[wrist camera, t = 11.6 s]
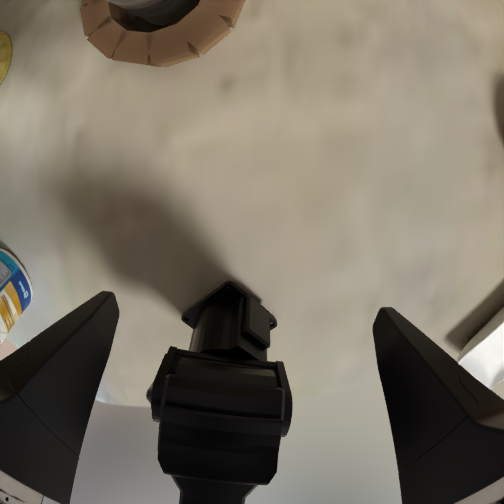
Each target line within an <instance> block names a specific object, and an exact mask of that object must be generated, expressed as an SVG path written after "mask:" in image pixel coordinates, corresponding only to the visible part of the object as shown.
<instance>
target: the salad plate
mask: <svg viewBox="0 0 504 504" xmlns="http://www.w3.org/2000/svg"><path fill="white" fill-rule="evenodd" d="M457 362H458V364H459V365H461V366H462V367H463V368H464V369H466V370H467V371H468V372H469V373H470V374H471V375H473V376H474V377H475V378H476V379H477V380H479V381H480V382H481V383H482V384H484V385H485V386H486V387H488V388H489V389H492V388H493V387H495V386H496V385H497V384H499V383H500V382H501V381H502V380H504V307H503V308H502V309H501V310H500V311H499V312H498V313H497V314H496V315H495V316H494V317H493V318H492V319H491V320H490V321H489V322H488V323H487V324H486V325H485V326H484V327H483V328H482V329H481V330H480V331H479V332H478V333H477V334H476V335H475V336H474V337H473V338H472V339H471V340H470V341H469V342H468V343H467V345H466V346H465V347H464V348H463V350H462V351H461V353H460V355H459V357H458V359H457Z"/></svg>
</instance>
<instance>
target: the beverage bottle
mask: <svg viewBox="0 0 504 504" xmlns="http://www.w3.org/2000/svg"><path fill="white" fill-rule="evenodd" d="M32 294H33V292H32V285H31V282H30V279H29V277H28V275H27V273H26V271H25V270H24V268H23V266H22V265H21V264H20V262H19V261H18V260H17V259H16V258H15V257H14V256H13V255H12V254H10V253H9V252H8V251H6V250H4V249H1V248H0V345H1V343H2V341H3V340H4V338H5V337H6V335H7V334H8V332H9V331H10V329H11V328H12V326H13V325H14V324H15V322H16V321H17V319H18V318H19V316H20V315H21V314H22V312H23V311H24V310H25V309H26V308H27V306H28V305H29V304H30V302H31V300H32Z"/></svg>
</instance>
